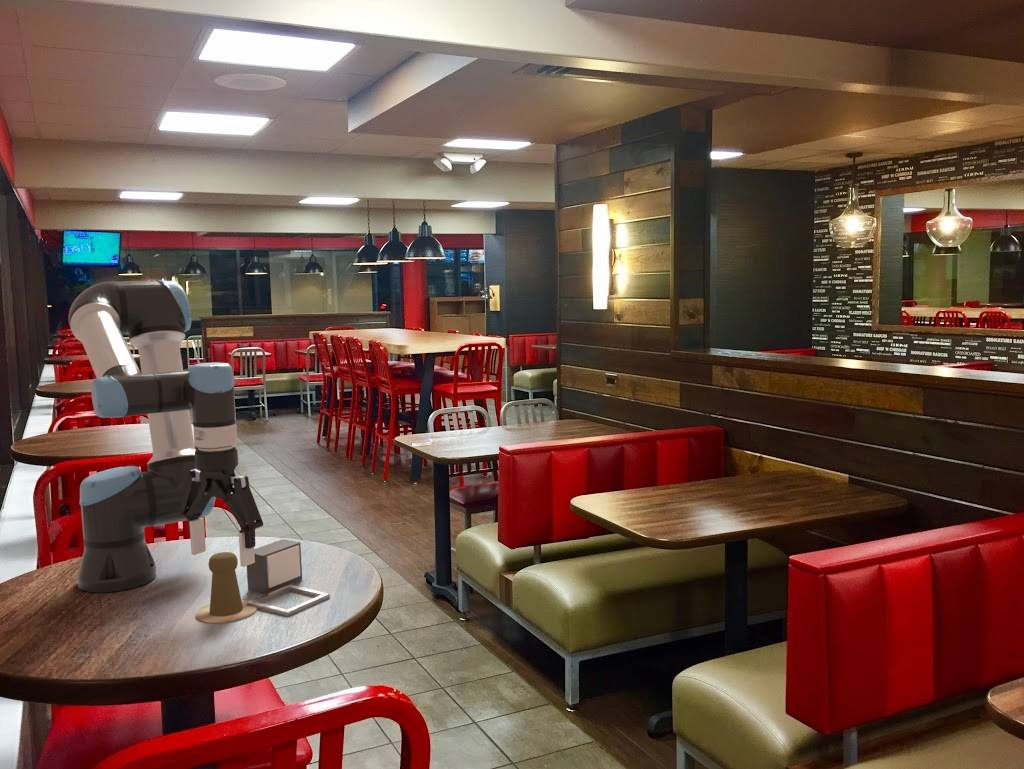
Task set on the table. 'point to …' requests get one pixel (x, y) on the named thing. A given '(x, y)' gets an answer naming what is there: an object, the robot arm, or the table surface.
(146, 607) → the table surface
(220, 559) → the pepper shaker
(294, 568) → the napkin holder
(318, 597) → the taupe square frame
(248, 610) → the tan round coaster
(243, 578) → the table surface
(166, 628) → the table surface
